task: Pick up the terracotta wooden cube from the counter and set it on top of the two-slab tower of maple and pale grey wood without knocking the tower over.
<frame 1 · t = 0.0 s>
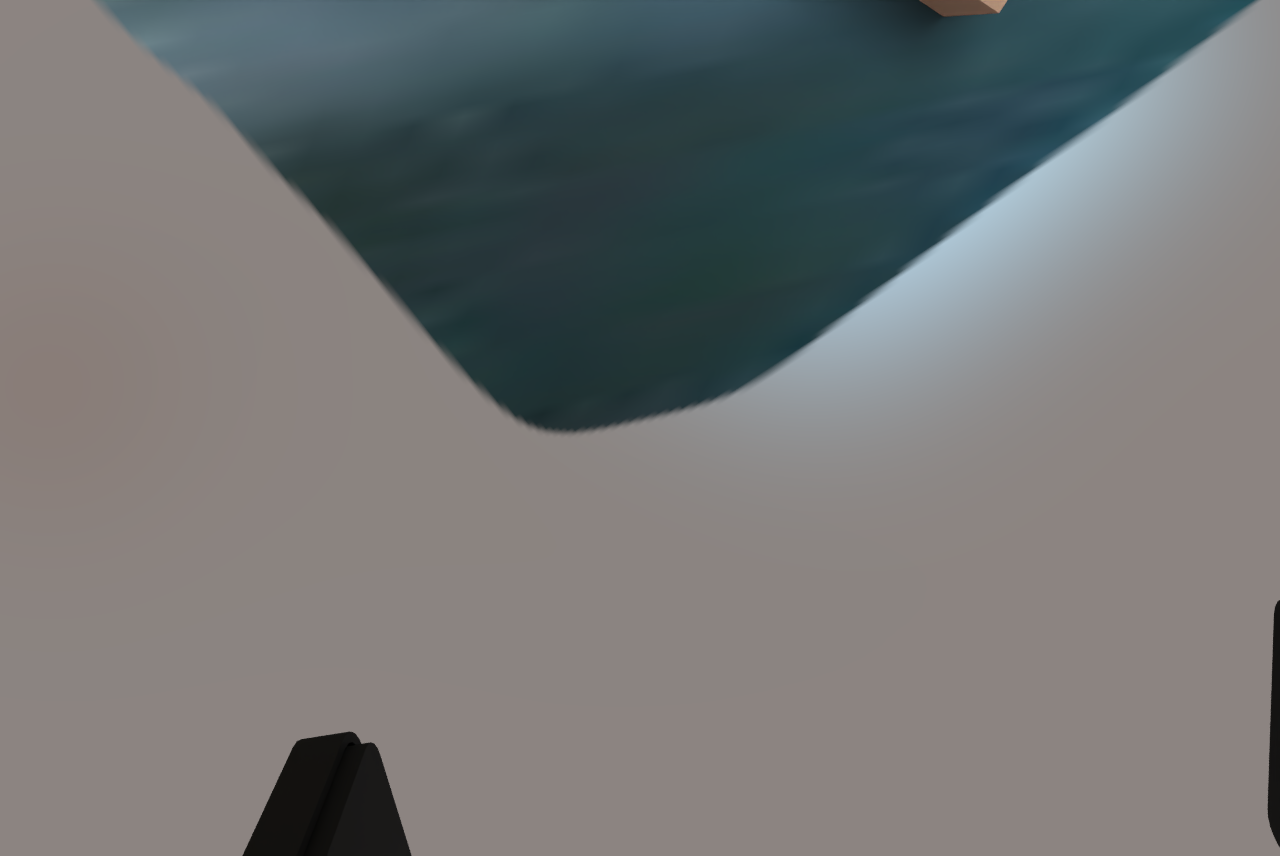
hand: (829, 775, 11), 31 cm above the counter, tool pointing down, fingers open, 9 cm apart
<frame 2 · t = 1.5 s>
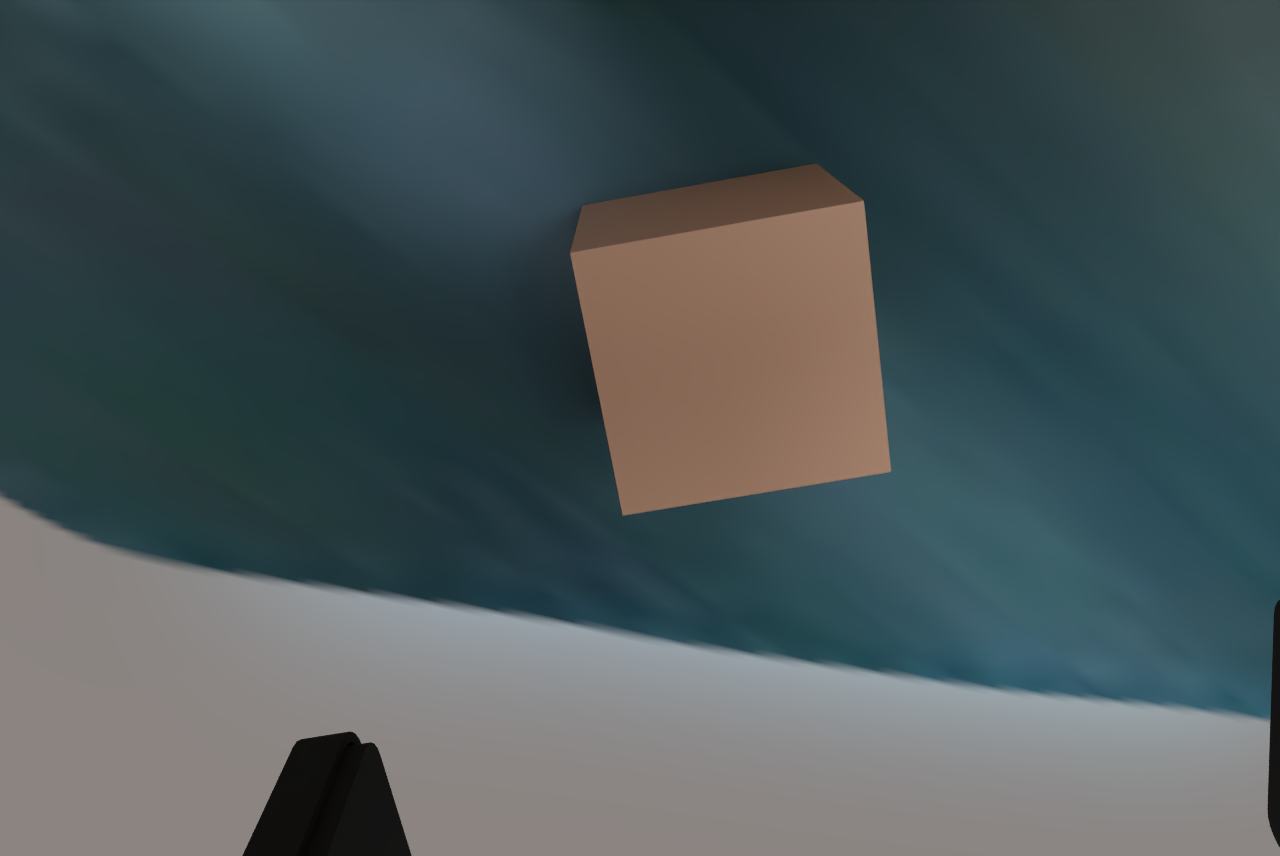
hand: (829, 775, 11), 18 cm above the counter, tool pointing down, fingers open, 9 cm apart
terracotta cube: (716, 297, 28), on the counter
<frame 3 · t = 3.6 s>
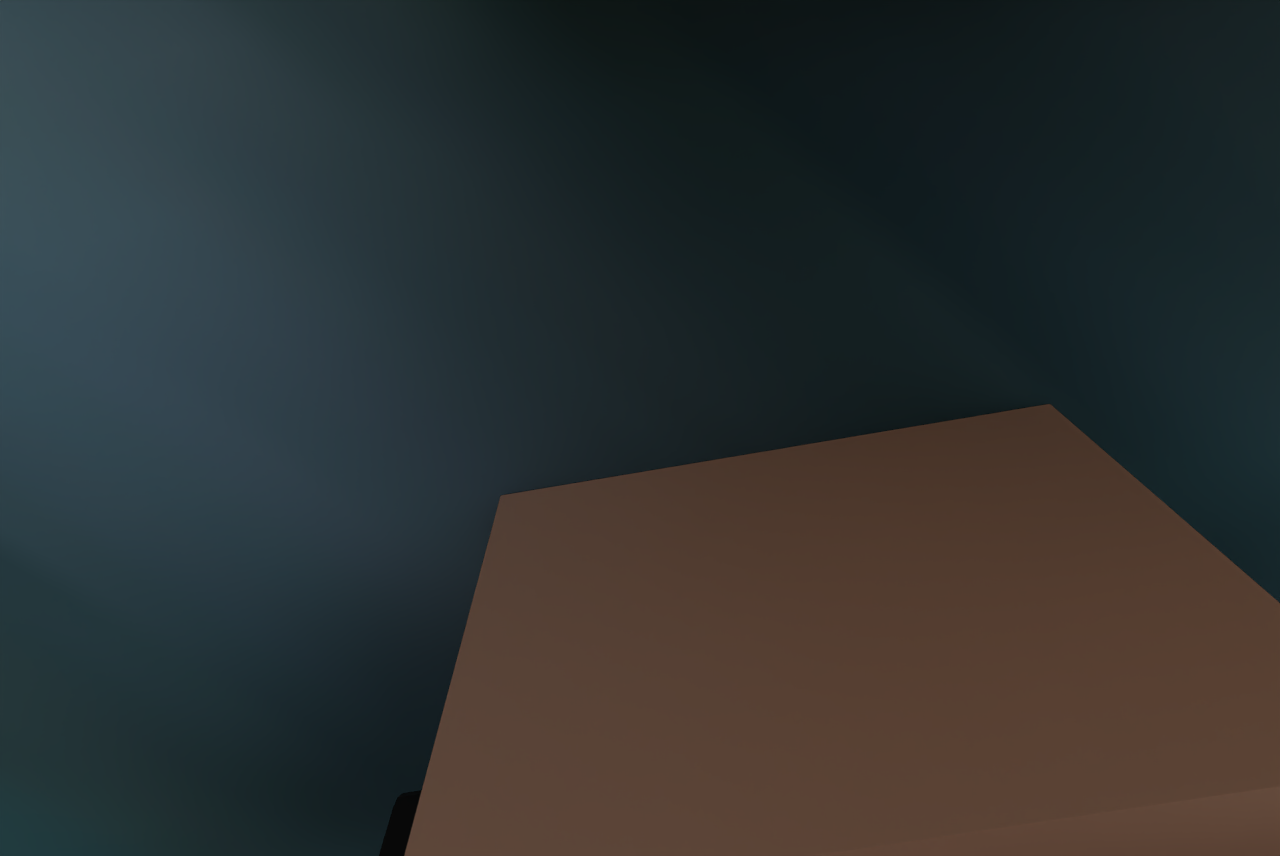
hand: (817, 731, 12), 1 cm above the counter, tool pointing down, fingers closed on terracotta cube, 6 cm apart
terracotta cube: (805, 683, 13), on the counter, touching gripper
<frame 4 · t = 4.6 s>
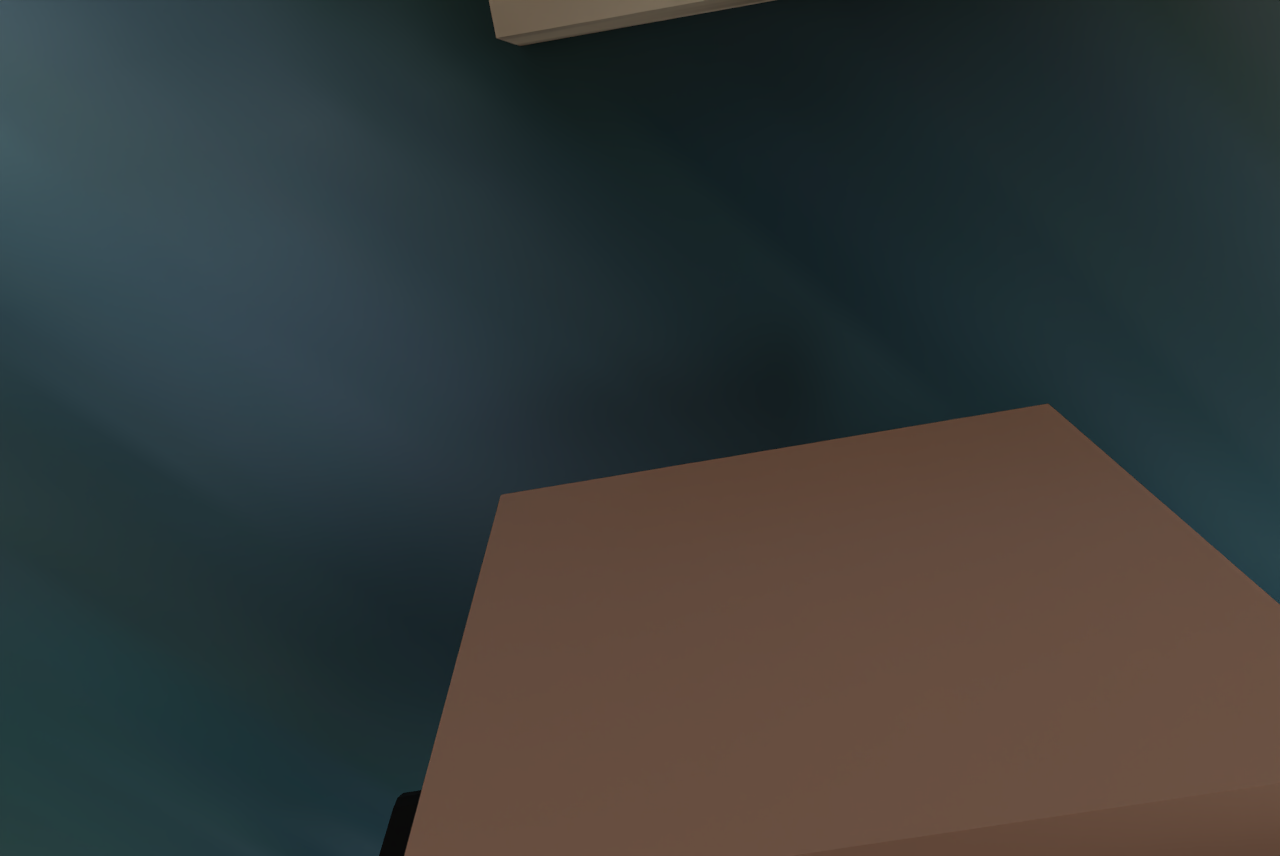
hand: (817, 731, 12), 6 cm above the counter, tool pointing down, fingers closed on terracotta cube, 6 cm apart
terracotta cube: (804, 682, 13), point 5 cm above the counter, touching gripper
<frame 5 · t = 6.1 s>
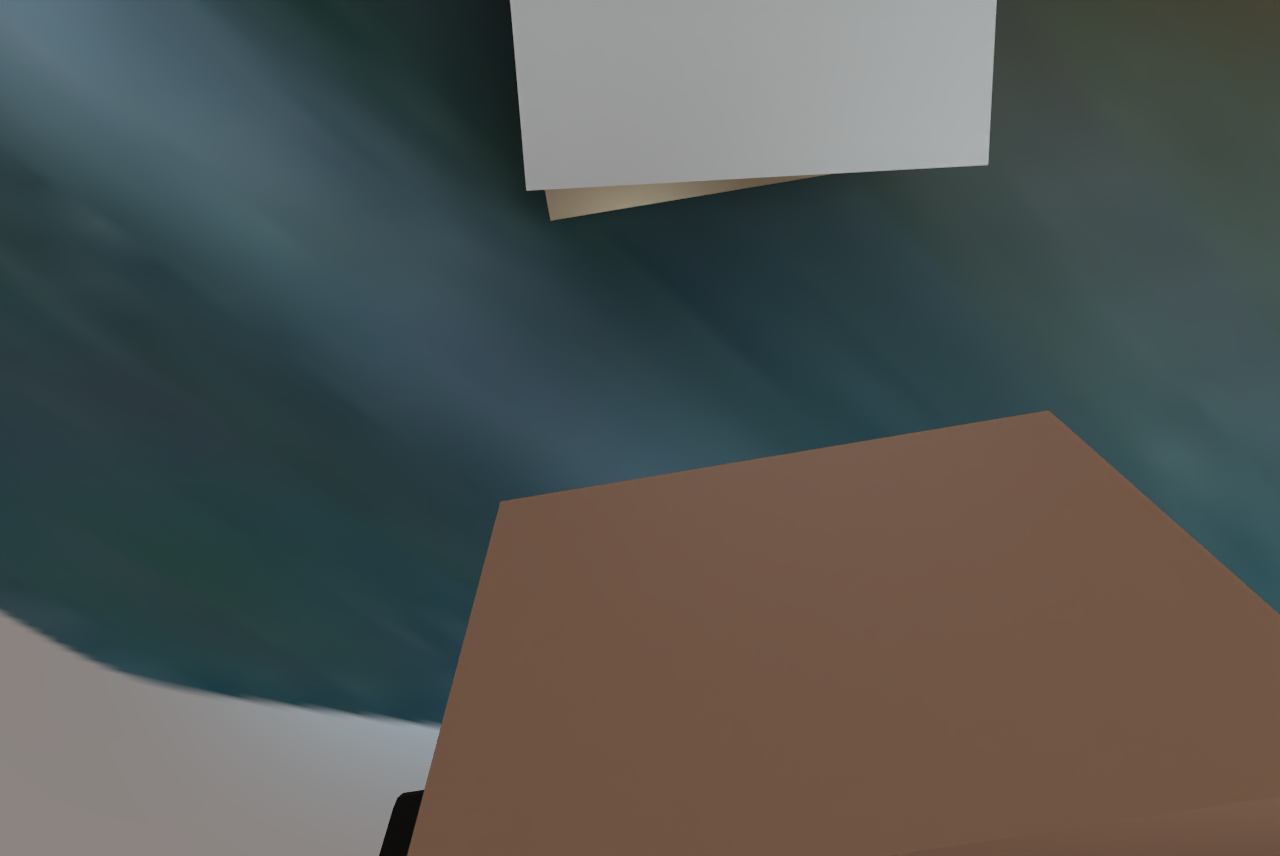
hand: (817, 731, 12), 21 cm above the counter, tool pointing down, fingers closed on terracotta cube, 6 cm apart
terracotta cube: (804, 689, 13), point 20 cm above the counter, touching gripper
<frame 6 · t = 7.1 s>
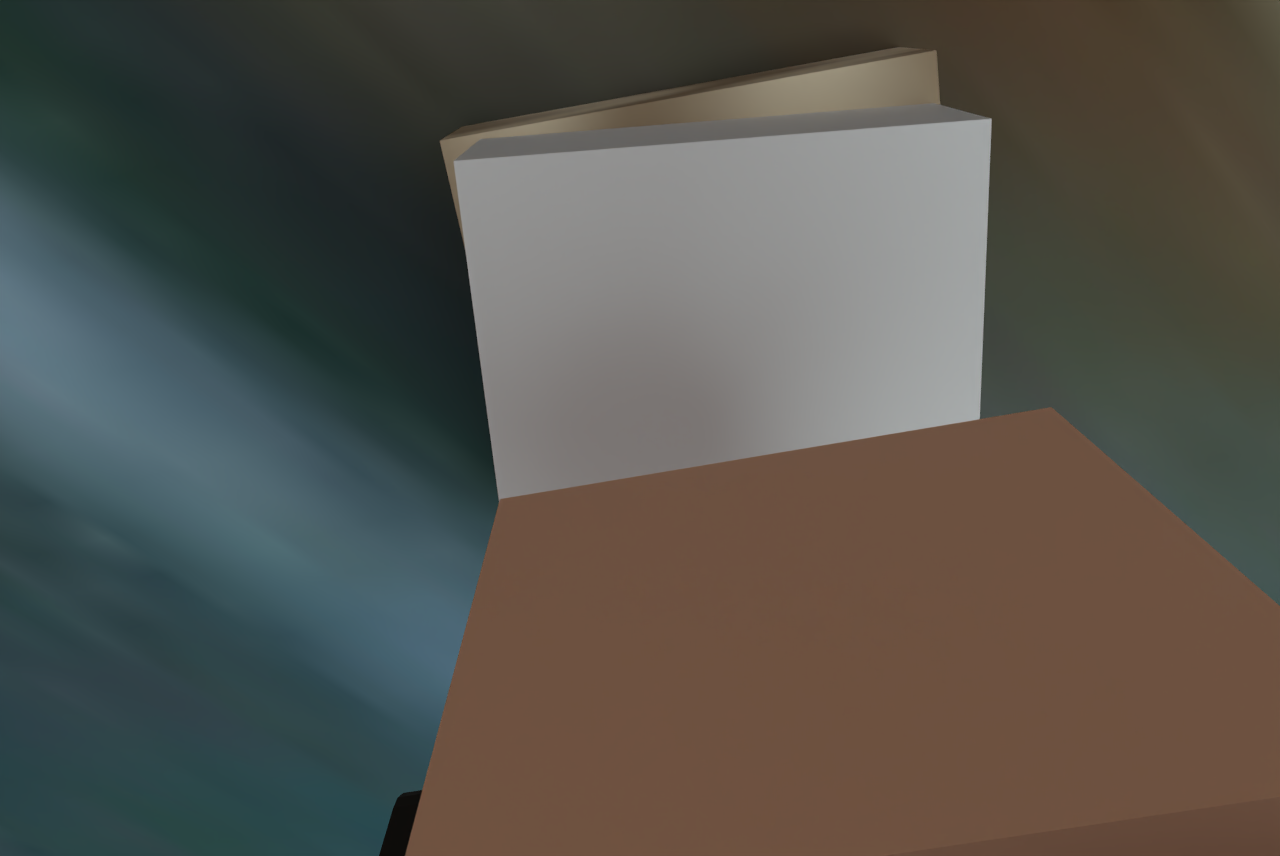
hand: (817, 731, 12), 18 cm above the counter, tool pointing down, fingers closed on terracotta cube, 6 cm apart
terracotta cube: (805, 687, 13), point 17 cm above the counter, touching gripper
grey top slab: (717, 339, 25), point 3 cm above the counter, touching maple base slab
maple base slab: (709, 295, 29), on the counter, touching grey top slab
when the fingers open (10 cm above the counter, at t = 8.5 s): terracotta cube stays where it is, point 9 cm above the counter.
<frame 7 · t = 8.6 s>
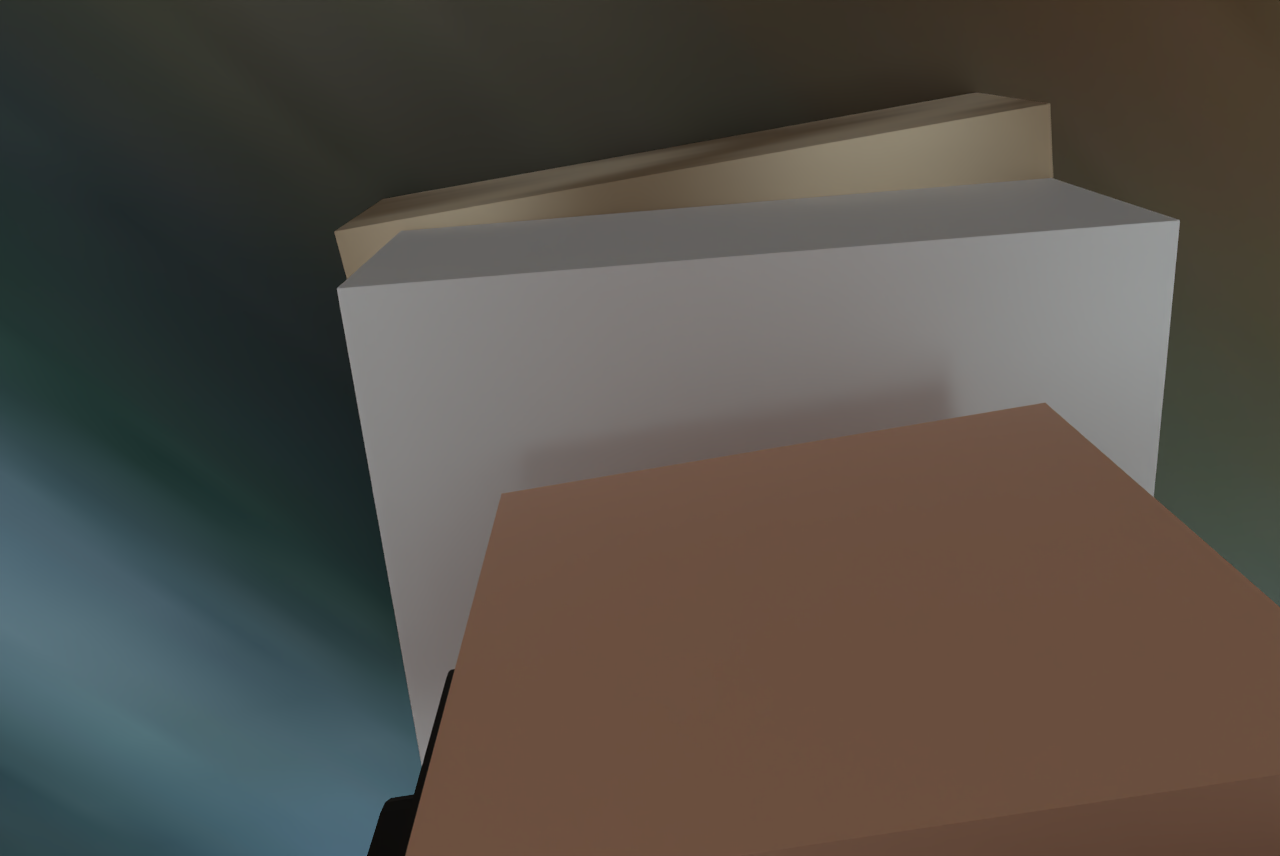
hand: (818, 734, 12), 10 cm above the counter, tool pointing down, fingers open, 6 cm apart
terracotta cube: (803, 680, 13), point 9 cm above the counter
grey top slab: (740, 501, 18), point 4 cm above the counter, touching maple base slab
maple base slab: (717, 417, 22), on the counter, touching grey top slab
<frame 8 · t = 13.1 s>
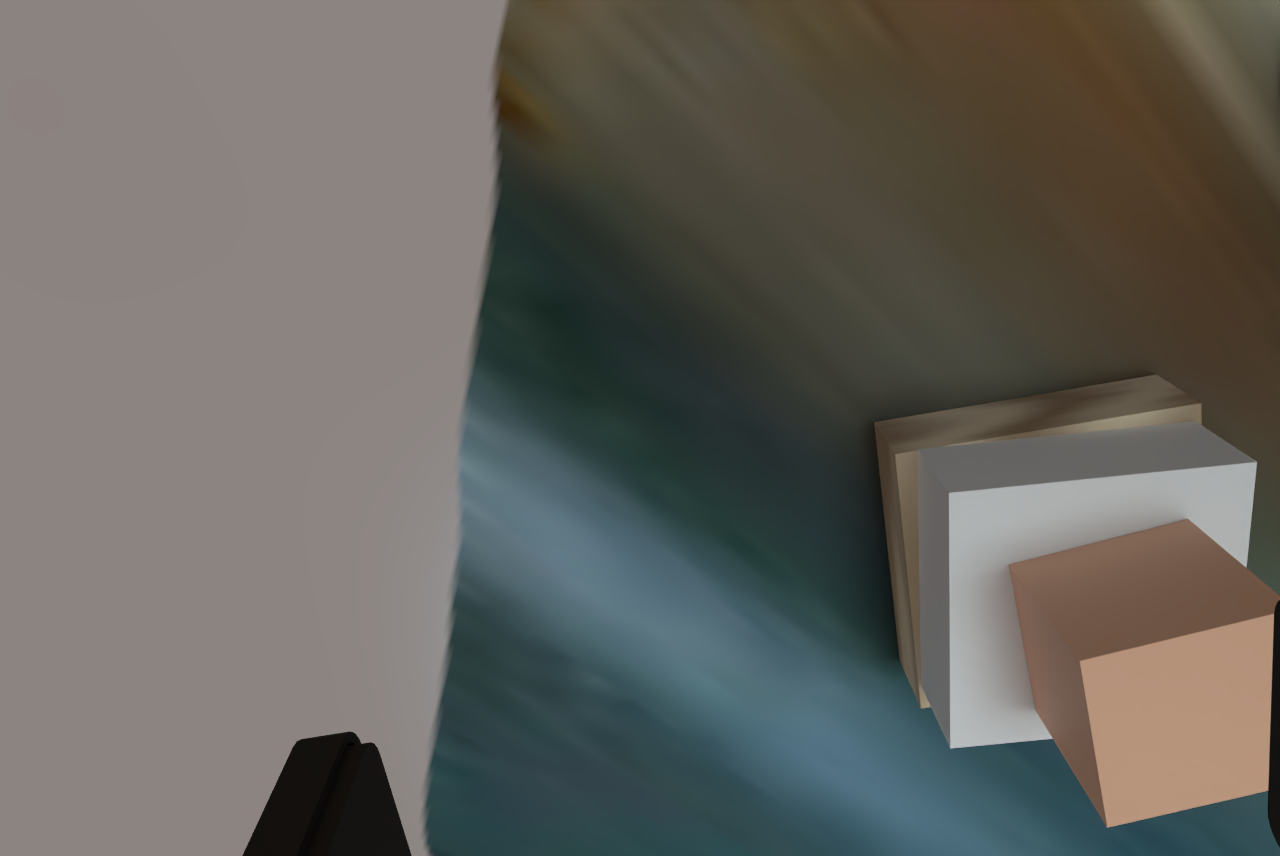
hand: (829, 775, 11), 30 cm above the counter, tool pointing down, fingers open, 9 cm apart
terracotta cube: (1109, 618, 37), point 7 cm above the counter
grey top slab: (1051, 559, 40), point 3 cm above the counter, touching maple base slab
maple base slab: (1017, 519, 44), on the counter, touching grey top slab
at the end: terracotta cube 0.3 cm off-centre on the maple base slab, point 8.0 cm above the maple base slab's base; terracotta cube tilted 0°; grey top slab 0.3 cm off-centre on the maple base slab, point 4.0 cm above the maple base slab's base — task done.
